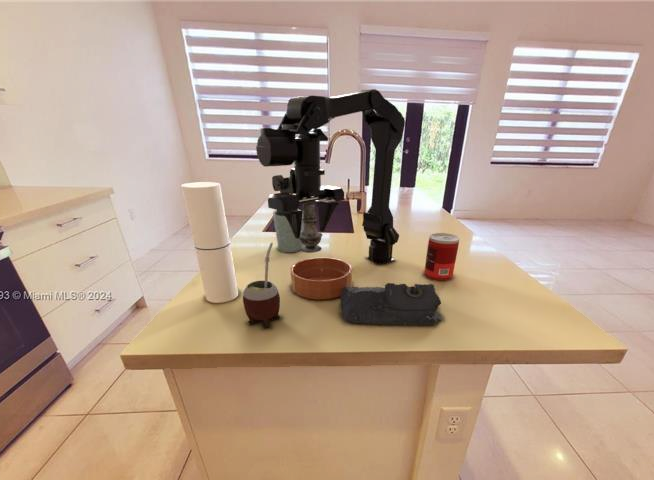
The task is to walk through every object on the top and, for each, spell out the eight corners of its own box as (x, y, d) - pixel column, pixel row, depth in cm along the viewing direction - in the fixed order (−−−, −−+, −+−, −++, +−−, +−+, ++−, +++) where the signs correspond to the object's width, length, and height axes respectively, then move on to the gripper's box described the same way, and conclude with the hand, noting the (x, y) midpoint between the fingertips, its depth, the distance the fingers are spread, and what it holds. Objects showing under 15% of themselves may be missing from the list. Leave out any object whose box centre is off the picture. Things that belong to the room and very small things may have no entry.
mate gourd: (249, 333, 61) (237, 260, 54) (244, 313, 67) (233, 246, 60) (287, 325, 63) (281, 255, 56) (279, 307, 70) (272, 242, 63)
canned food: (457, 275, 88) (464, 237, 83) (443, 283, 83) (450, 243, 78) (433, 267, 92) (438, 231, 87) (418, 275, 87) (423, 236, 82)
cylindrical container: (207, 305, 70) (181, 188, 58) (204, 292, 75) (180, 182, 64) (240, 299, 73) (222, 186, 61) (235, 286, 78) (217, 181, 67)
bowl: (335, 270, 89) (335, 254, 86) (362, 292, 77) (363, 273, 75) (283, 280, 82) (282, 263, 80) (305, 306, 71) (304, 286, 68)
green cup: (291, 241, 111) (289, 207, 105) (313, 247, 106) (311, 211, 100) (269, 249, 104) (265, 212, 98) (291, 255, 98) (288, 217, 93)
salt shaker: (326, 251, 76) (325, 200, 70) (302, 254, 73) (299, 202, 68) (318, 244, 80) (317, 195, 75) (296, 246, 78) (292, 197, 73)
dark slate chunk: (340, 291, 77) (340, 273, 75) (428, 292, 78) (431, 275, 76) (339, 325, 64) (339, 304, 62) (446, 326, 64) (450, 306, 62)
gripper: (312, 159, 79) (314, 221, 86) (248, 163, 66) (257, 235, 73) (346, 163, 73) (345, 229, 80) (282, 168, 60) (288, 246, 67)
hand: (310, 234), depth 75 cm, fingers closed on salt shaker, 8 cm apart
